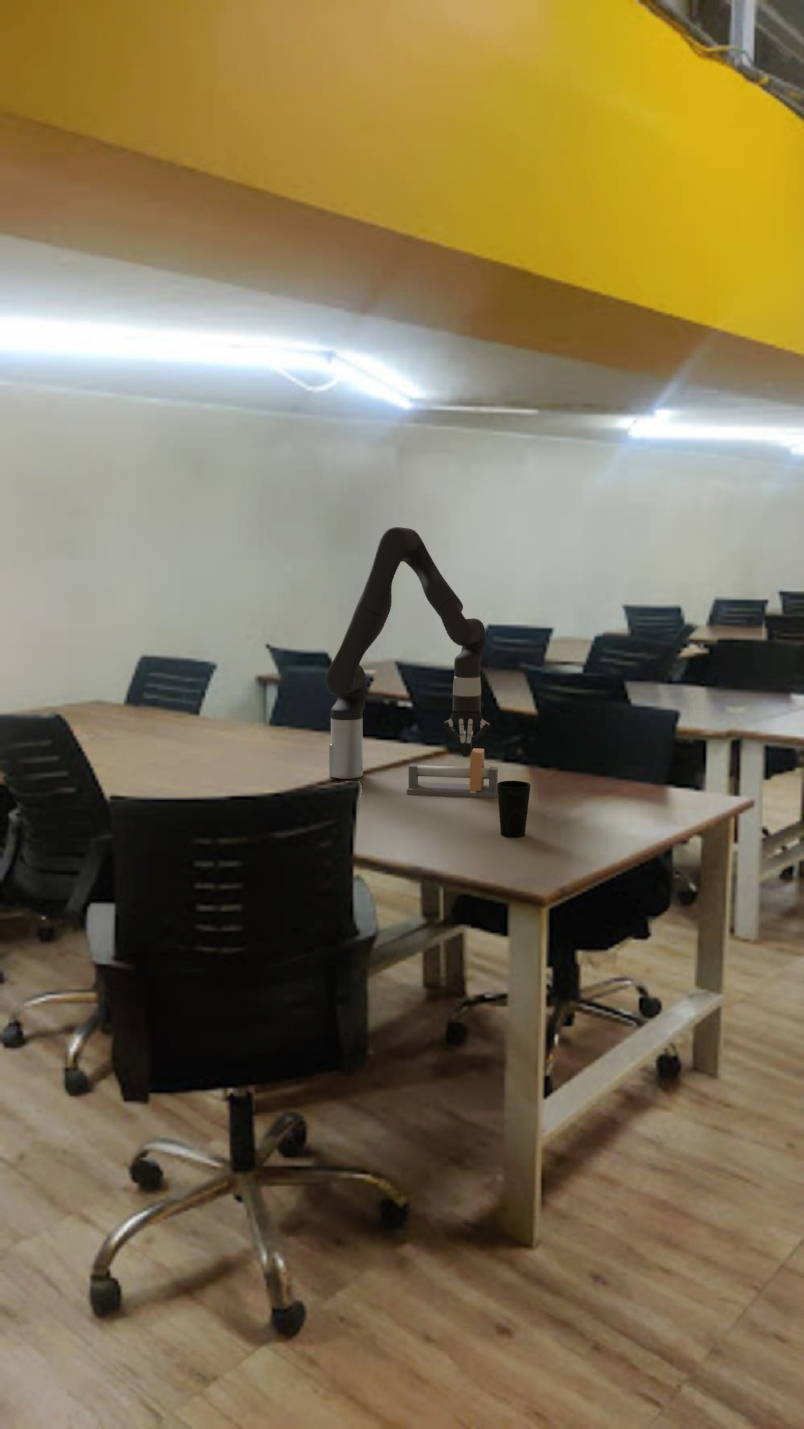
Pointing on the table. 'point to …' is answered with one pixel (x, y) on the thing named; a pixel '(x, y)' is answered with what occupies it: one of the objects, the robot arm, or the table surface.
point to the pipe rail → (450, 788)
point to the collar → (476, 769)
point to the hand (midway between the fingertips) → (466, 756)
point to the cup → (513, 807)
